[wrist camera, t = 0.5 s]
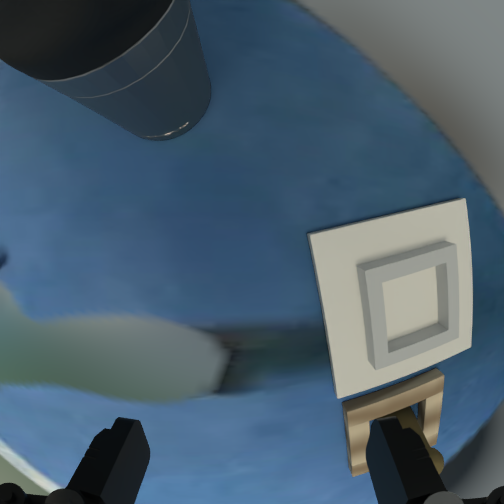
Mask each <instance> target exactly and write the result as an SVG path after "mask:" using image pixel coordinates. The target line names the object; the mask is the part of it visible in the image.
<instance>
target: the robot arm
mask: <svg viewBox="0 0 504 504" xmlns="http://www.w3.org/2000/svg"><path fill="white" fill-rule="evenodd" d="M0 59H1V60H3V61H4V62H5V63H7V64H8V65H10V66H11V67H13V68H15V69H17V70H19V71H21V72H23V73H25V74H26V75H28V76H30V77H33V78H34V79H36V80H38V81H40V82H42V83H44V84H45V85H47V86H49V87H51V88H53V89H55V90H57V91H58V92H60V93H62V94H64V95H66V96H68V97H70V98H72V99H73V100H75V101H77V102H79V103H81V104H82V105H84V106H86V107H88V108H89V109H91V110H93V111H95V112H96V113H98V114H100V115H102V116H104V117H105V118H107V119H109V120H110V121H112V122H114V123H116V124H117V125H119V126H121V127H122V128H124V129H126V130H128V131H129V132H131V133H133V134H135V135H137V136H139V137H141V138H143V139H148V140H160V141H162V140H167V139H172V138H174V137H177V136H179V135H182V134H183V133H185V132H187V131H188V130H190V129H191V128H192V127H193V126H194V125H195V124H196V123H198V122H199V120H200V119H201V117H202V116H203V115H204V113H205V111H206V109H207V107H208V105H209V101H210V96H211V84H210V80H209V76H208V72H207V67H206V63H205V59H204V55H203V51H202V47H201V43H200V39H199V36H198V32H197V28H196V24H195V20H194V16H193V12H192V8H191V5H190V1H189V0H0ZM149 460H150V448H149V445H148V442H147V439H146V436H145V433H144V431H143V428H142V425H141V422H140V421H139V420H135V419H128V418H122V417H118V418H117V419H116V420H115V422H114V424H113V426H112V428H111V429H106V428H105V429H103V430H102V431H101V432H100V433H99V434H97V435H96V436H95V437H94V439H93V441H92V442H91V444H90V446H89V449H87V451H86V453H85V457H83V458H82V460H81V462H80V464H79V466H78V467H77V469H76V471H75V473H74V475H73V476H72V478H71V480H70V482H69V484H68V485H67V487H66V488H65V489H58V490H55V491H53V492H51V493H50V494H49V495H48V496H42V495H32V494H26V493H25V492H24V491H23V490H22V489H21V488H20V487H19V486H18V485H16V484H14V483H4V484H1V485H0V504H134V503H135V500H136V497H137V494H138V492H139V489H140V486H141V483H142V480H143V478H144V475H145V472H146V469H147V466H148V464H149ZM366 462H367V466H368V469H369V473H370V476H371V479H372V483H373V486H374V490H375V493H376V497H377V500H378V504H504V486H501V487H498V488H496V489H495V490H493V491H492V492H491V493H490V495H489V496H488V497H483V498H475V499H461V498H460V497H459V496H458V495H456V494H454V493H452V492H448V491H447V490H446V488H445V486H444V484H443V482H442V480H441V478H440V476H439V474H438V471H437V469H436V467H435V465H434V463H433V461H432V459H431V457H430V455H429V453H428V451H427V449H425V445H424V443H423V441H422V439H421V437H420V435H419V434H417V433H416V432H415V431H414V430H413V429H411V428H410V427H409V428H404V429H403V428H402V426H401V424H400V422H399V420H398V418H397V417H396V416H392V417H386V418H380V419H375V420H374V421H373V424H372V428H371V431H370V435H369V439H368V442H367V445H366Z"/></svg>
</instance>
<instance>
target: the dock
mask: <svg viewBox="0 0 504 504" xmlns="http://www.w3.org/2000/svg"><path fill="white" fill-rule="evenodd" d="M307 236H308V241H309V246H310V251H311V256H312V261H313V266H314V271H315V276H316V282H317V287H318V292H319V298H320V303H321V309H322V315H323V320H324V326H325V332H326V338H327V344H328V350H329V357H330V363H331V370H332V377H333V383H334V391H335V394H336V396H337V399H339V398H342V397H345V396H348V395H352V394H355V393H358V392H361V391H364V390H367V389H370V388H373V387H376V386H379V385H382V384H385V383H387V382H390V381H393V380H395V379H398V378H401V377H403V376H406V375H409V374H411V373H414V372H416V371H419V370H421V369H423V368H426V367H428V366H431V365H433V364H435V363H438V362H440V361H442V360H444V359H447V358H449V357H451V356H453V355H455V354H458V353H460V352H462V351H464V350H466V349H468V348H470V347H471V337H472V308H473V288H472V260H471V245H470V233H469V223H468V214H467V206H466V199H464V198H458V199H454V200H449V201H445V202H441V203H436V204H432V205H427V206H423V207H419V208H414V209H410V210H406V211H402V212H397V213H393V214H389V215H384V216H380V217H376V218H371V219H367V220H363V221H359V222H354V223H350V224H346V225H341V226H337V227H333V228H329V229H324V230H320V231H316V232H312V233H307Z"/></svg>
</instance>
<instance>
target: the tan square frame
mask: <svg viewBox="0 0 504 504" xmlns="http://www.w3.org/2000/svg"><path fill="white" fill-rule="evenodd" d="M443 385H444V375H443V374H442V373H441V372H440V371H439V370H438V369H437V368H435V369H432V370H430V371H428V372H425V373H423V374H421V375H418V376H416V377H413V378H411V379H408V380H406V381H403V382H401V383H398V384H395V385H393V386H390V387H387V388H384V389H381V390H379V391H376V392H373V393H370V394H367V395H364V396H361V397H358V398H355V399H352V400H348V401H345V402H342V405H343V413H344V422H345V432H346V441H347V452H348V463H349V469H350V471H351V474H352V477H354V476H357V475H360V474H363V473H366V472H369V469H368V466H367V462H366V445H367V442H368V439H369V435H370V430H369V421H371V420H373V419H376V418H379V417H382V416H385V415H387V414H390V413H393V412H395V411H398V410H400V409H403V408H405V407H408V406H410V405H413V404H415V403H418V402H419V403H418V419H417V421H418V423H419V425H420V427H421V429H422V431H423V433H424V435H425V437H426V439H427V441H428V443H429V445H430V447H431V446H433V445H435V444H436V442H437V436H438V429H439V422H440V414H441V406H442V396H443Z"/></svg>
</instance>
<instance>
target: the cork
mask: <svg viewBox="0 0 504 504" xmlns="http://www.w3.org/2000/svg"><path fill="white" fill-rule="evenodd" d="M392 416H396V417H397V418H398V420H399V422H400V424H401V426H402V428H403V429H404V428H409V427H410V428H411V429H413V430H414V431H415V432H416V433H417V434H419V435H420V437H421V439H422V441H423V443H424V445H425V449H427V451H428V453H429V455H430V457H431V459H432V461H433V463H434V465H435V467H436V469H437V471H438V474H440V473H441V471H442V470H443V467H444V459H443V456H442V454H441V453H440V452H439V451H438V450H436V449H435V448H431V447H430V445H429V443H428V441H427V439H426V437H425V435H424V433H423V431H422V429H421V427H420V425H419V423H418V421H417V419H416V416H415V414H414V412H413V410H412V409H411V408H410V407H409V406H408V407H405V408H403V409H400V410H398V411H395V412H393V413H390V414H387V415H385V416H382V417H379V418H376V419H380V418H386V417H392ZM372 424H373V423H372ZM371 428H372V426H371Z"/></svg>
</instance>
